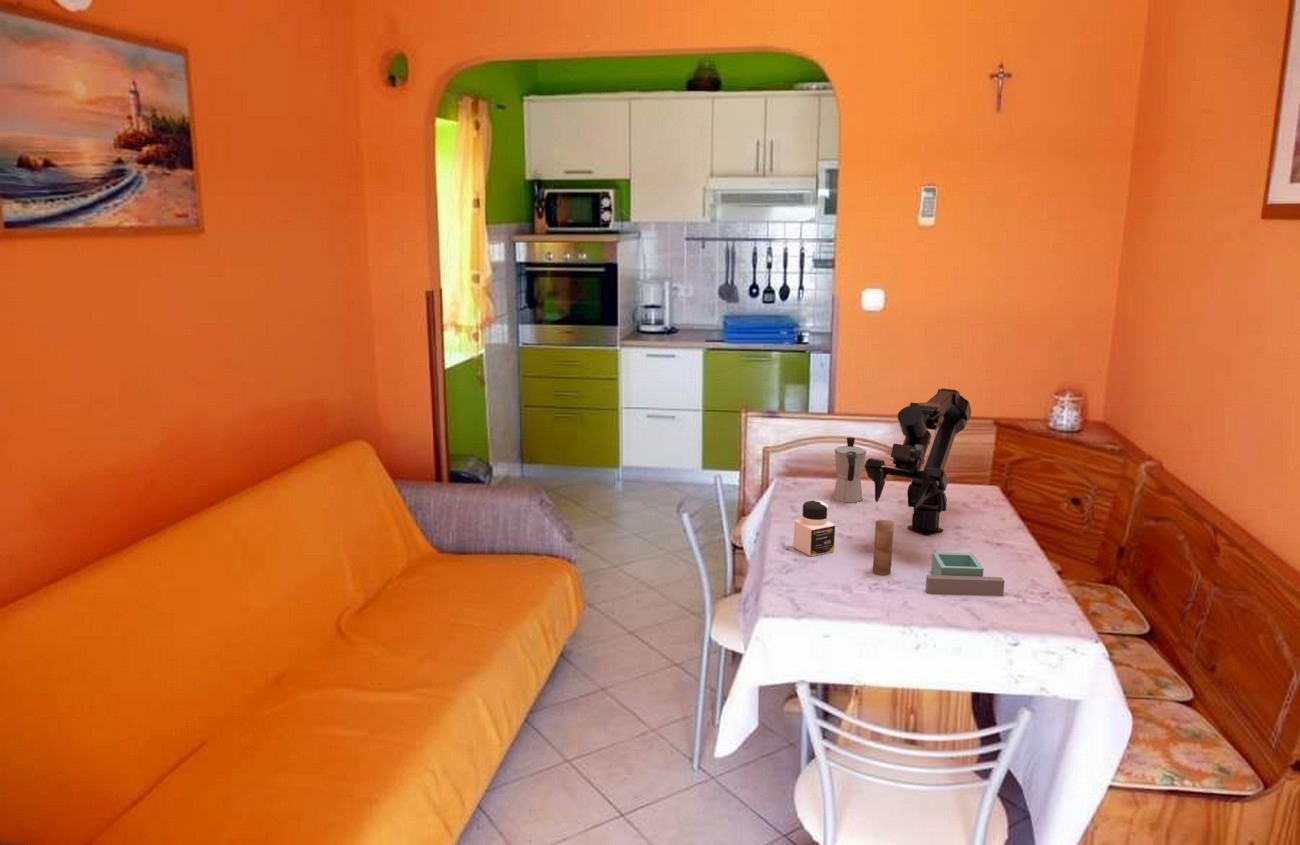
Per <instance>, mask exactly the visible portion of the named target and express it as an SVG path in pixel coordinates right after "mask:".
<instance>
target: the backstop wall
mask: <svg viewBox="0 0 1300 845" xmlns="http://www.w3.org/2000/svg"><path fill="white" fill-rule="evenodd" d="M925 581H926V582H925V583H926V584H925V592H926V593H927V594H934V595H935V594H936V595H937V594H938V595H967V596H968V595H970V596H993V597H994V596H998V597H999V596H1002V597H1003V596H1004V591H1005V590H1004V589H1005V579H1004V578H1003V577H1002V576H983V577H977V576H944V575H933V574H927V575H926V580H925Z"/></svg>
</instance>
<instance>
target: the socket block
mask: <svg viewBox="0 0 1300 845" xmlns="http://www.w3.org/2000/svg"><path fill="white" fill-rule="evenodd" d="M931 555H932V557H931V570H930V572H931V573H932V575H944V576H977V577H984V567H983V566H982V565H981V563H980V562H979V560H978V559H977V558H976V556H975V555H974V553H960V552H959V553H957V552H956V553H955V552H932V554H931Z"/></svg>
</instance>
